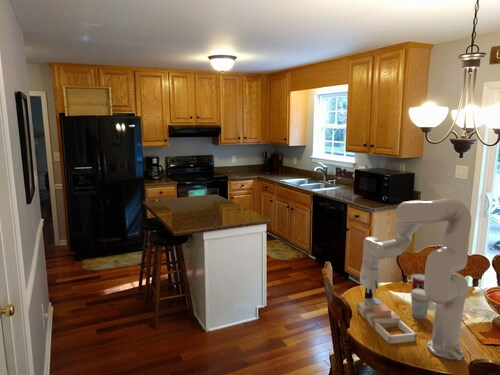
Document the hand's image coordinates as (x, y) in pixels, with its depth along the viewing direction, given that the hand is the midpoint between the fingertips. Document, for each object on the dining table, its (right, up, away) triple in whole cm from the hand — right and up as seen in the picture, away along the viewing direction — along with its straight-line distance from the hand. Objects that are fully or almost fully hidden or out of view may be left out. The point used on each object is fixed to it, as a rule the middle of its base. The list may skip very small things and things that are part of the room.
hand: (368, 299), depth 181 cm
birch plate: (+2, -6, -8) cm, 10 cm away
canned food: (+31, -3, +14) cm, 34 cm away
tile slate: (+1, -1, -5) cm, 5 cm away
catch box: (+4, -8, -21) cm, 23 cm away
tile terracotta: (+2, -2, -11) cm, 12 cm away
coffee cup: (+22, -6, -6) cm, 23 cm away
